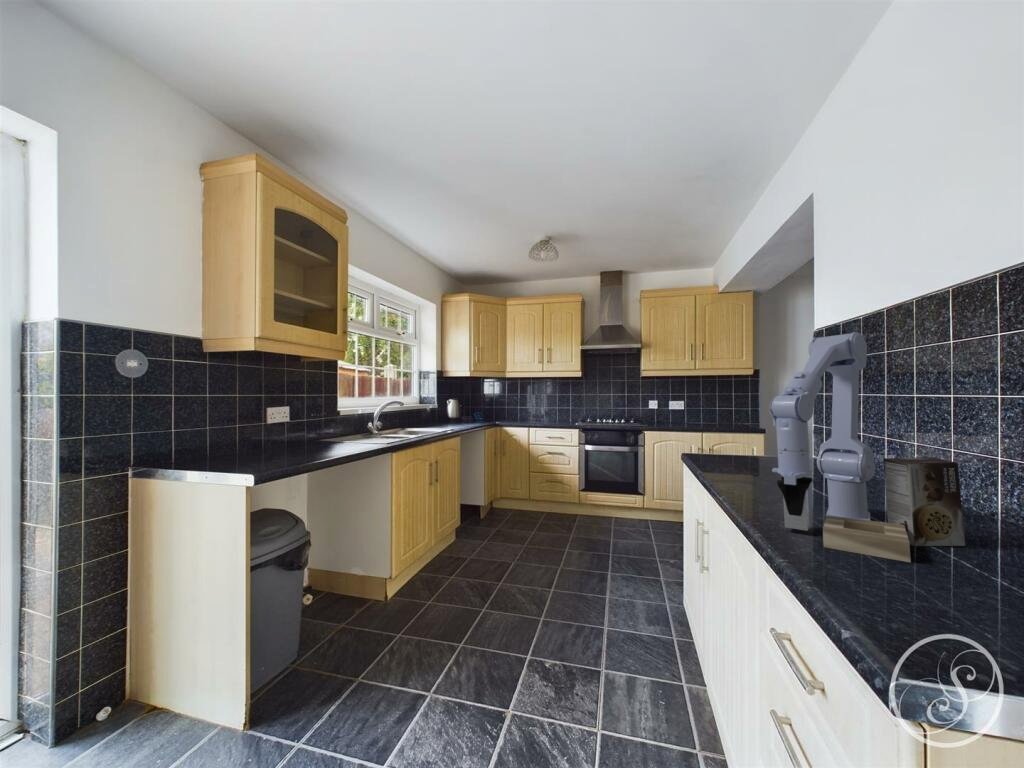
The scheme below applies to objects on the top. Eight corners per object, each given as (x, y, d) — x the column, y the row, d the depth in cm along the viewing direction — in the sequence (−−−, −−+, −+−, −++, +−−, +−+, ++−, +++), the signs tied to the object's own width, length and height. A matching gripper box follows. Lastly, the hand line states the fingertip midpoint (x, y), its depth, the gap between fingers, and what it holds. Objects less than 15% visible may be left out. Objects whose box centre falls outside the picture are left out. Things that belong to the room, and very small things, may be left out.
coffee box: (934, 535, 83) (929, 457, 83) (966, 547, 76) (960, 461, 77) (886, 535, 84) (881, 457, 84) (914, 546, 77) (908, 462, 78)
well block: (827, 531, 87) (826, 514, 87) (905, 543, 79) (904, 525, 79) (823, 547, 78) (822, 528, 78) (910, 562, 70) (909, 542, 70)
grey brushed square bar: (787, 522, 90) (785, 482, 90) (809, 525, 87) (807, 484, 88) (784, 527, 87) (782, 485, 87) (807, 530, 84) (805, 487, 85)
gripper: (776, 445, 96) (779, 503, 95) (765, 452, 85) (769, 517, 85) (813, 447, 91) (817, 507, 91) (806, 454, 80) (810, 523, 80)
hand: (796, 512), depth 87 cm, fingers closed on grey brushed square bar, 4 cm apart
